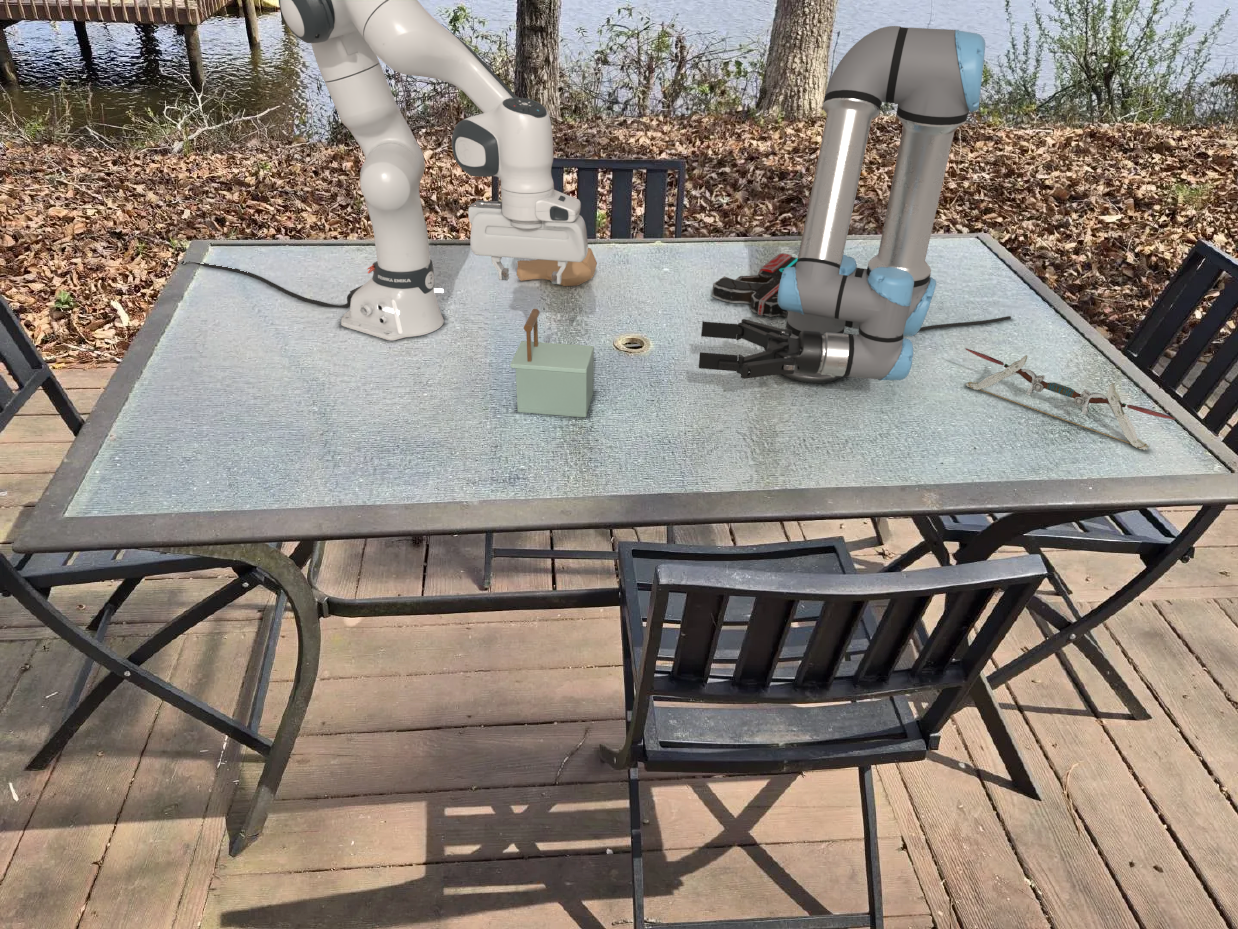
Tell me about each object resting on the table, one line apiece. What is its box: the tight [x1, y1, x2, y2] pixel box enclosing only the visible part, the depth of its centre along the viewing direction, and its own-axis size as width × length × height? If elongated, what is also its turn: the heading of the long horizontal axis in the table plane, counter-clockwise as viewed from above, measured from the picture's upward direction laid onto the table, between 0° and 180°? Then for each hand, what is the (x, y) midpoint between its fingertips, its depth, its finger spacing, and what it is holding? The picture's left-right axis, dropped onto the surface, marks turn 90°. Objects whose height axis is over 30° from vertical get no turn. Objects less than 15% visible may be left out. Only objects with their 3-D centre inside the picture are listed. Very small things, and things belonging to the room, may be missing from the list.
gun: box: [711, 252, 798, 318], centre depth 215 cm, size 4×31×19 cm
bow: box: [964, 347, 1177, 451], centre depth 165 cm, size 39×2×10 cm, turn 47°
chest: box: [515, 350, 595, 418], centre depth 165 cm, size 13×10×9 cm
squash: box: [516, 247, 598, 287], centre depth 216 cm, size 11×20×9 cm, turn 90°
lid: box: [509, 308, 595, 373], centre depth 161 cm, size 14×10×8 cm
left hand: (530, 281), depth 155 cm, fingers open, 8 cm apart
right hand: (700, 343), depth 157 cm, fingers open, 13 cm apart
